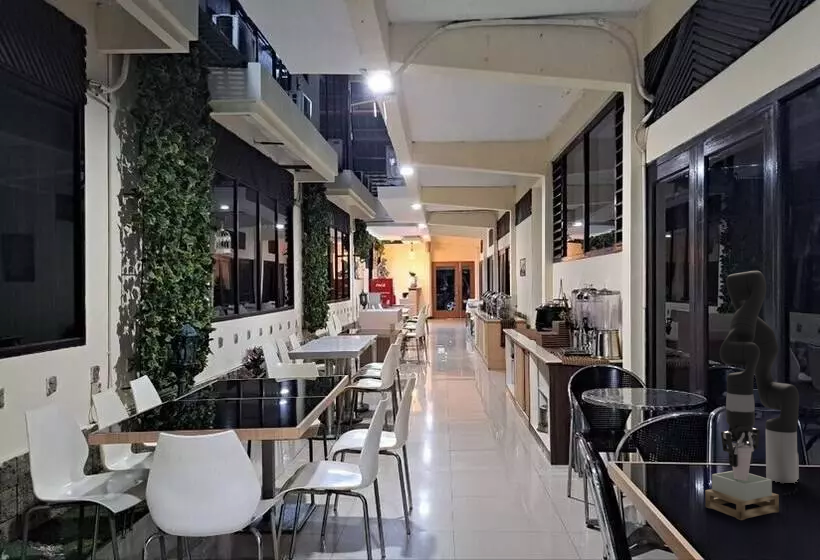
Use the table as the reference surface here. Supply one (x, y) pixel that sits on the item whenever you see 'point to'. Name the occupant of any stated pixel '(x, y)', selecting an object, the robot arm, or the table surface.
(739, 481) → the grey crate
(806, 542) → the table surface
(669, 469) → the table surface
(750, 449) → the smoothie
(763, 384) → the robot arm
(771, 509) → the wooden pallet
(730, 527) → the table surface
